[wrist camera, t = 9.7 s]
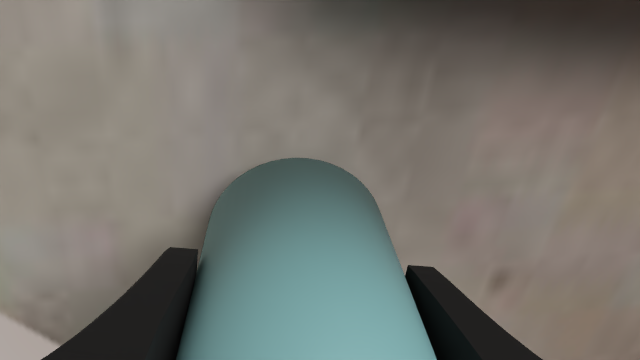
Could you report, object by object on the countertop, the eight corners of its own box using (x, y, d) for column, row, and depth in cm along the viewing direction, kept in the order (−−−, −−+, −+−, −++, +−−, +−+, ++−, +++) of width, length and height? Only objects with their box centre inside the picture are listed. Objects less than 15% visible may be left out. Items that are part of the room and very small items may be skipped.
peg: (398, 167, 14) (584, 508, 5) (366, 314, 15) (467, 728, 7) (212, 148, 13) (104, 502, 5) (203, 303, 15) (115, 743, 7)
